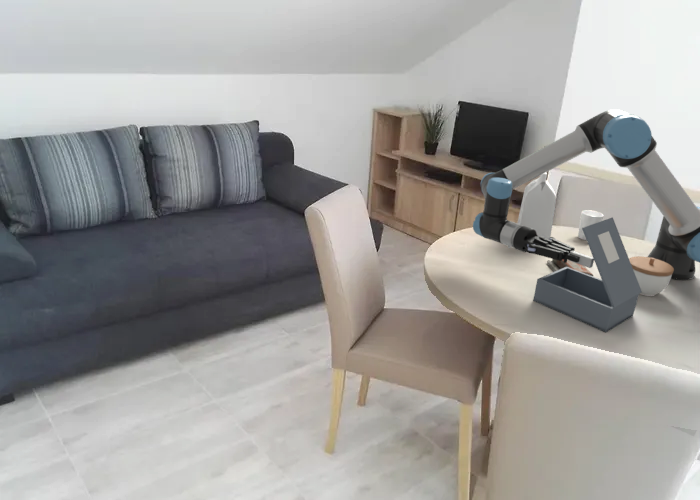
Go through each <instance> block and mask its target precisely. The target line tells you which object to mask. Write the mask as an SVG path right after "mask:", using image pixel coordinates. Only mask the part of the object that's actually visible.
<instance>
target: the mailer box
mask: <svg viewBox="0 0 700 500" xmlns="http://www.w3.org/2000/svg"><path fill="white" fill-rule="evenodd" d="M534 290H535V291H534V294H533V299H532V301H533V302H535V303H537V304H539V305H542V306H543V307H547V308H548V309H551V310H553V311H555V312H558V313H561V315H565V316H567V317H570V318H572V319H574V320H576V321H578V322H581V323H583V324H585V325H587V326H590V327H592V328H595V329H597V330H599V331H601V332H603V333H608V332H609V331H610V330H613V329H614V328H616V327H617V326H619V325H620V324H622V323H623V322H625V321H627V320H629V319H631V318H632V317H633V316H634V314H635V310H636V306H637V304H638V299H639V296H640V294H638V295H636V296H634V297H632V298H631V299H629V300H627V301H625V302H623V303H622V304H620V305H618V306H616V307H614V308H613V307H612V305H611V302H610V300H609V297H608V295H607V292H606V289H605V287H604V284H603V282H602V279H601V278H598V277H596V276H594V275H593V276H590V275H588V274H585V273H582V272H580V271H577V270H574V269H572V268H569V267H564V268H562V269H560V270H557V271H555V272H554V271H553V272H550V273H548V274H546V275H543V276H541V277H539V278H537V280H536V284H535V289H534Z"/></svg>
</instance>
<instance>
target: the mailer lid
mask: <svg viewBox="0 0 700 500" xmlns="http://www.w3.org/2000/svg"><path fill="white" fill-rule="evenodd" d="M582 230H583V232H584V235H585V237H586V240H585V241H586V243H587V244H588V247H589V248H588V249H589V250H590V252H591V255H592V256H591V257H593V258H594V264H595V266H596V269H597V271H598V273H599V276H600V279H601V280H602V282H603V284H604V287H605V289H606V292H607V295H608V297H609V300H610V302H611V305H612V307H613V308H614V307H616V306H618V305H620V304H622V303H623V302H625V301H627V300H629V299H631V298H632V297H634V296H636V295H638V294H639V293H641V292H642V291H641V288H640V286H639V283H638V281H637V278H636V276H635V273H634V270H633V268H632V265H631V263H630V260H629V258H630V257H629V255H628V253H627V250H626V248H625V246H624V242H623V240H622V238H621V235H620V232H619V230H618V227H617V225H616V222H615V220H614V217H613V216H612V217H609V218H606V219H603V220H602V221H601V222H598V223H595V224H592V225H589V226H587V227H584V228H582ZM639 295H640V294H639Z"/></svg>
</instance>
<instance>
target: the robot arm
mask: <svg viewBox="0 0 700 500" xmlns="http://www.w3.org/2000/svg"><path fill="white" fill-rule="evenodd" d="M657 145H658V141H656V139H655V138H654V136H653V134H652V130H651V128H650V126H649V124H648V123H647V122H646V120H644V119H643V118H641V117H640V116H638V115H635V114H631V113H629V112H626V111H624V110H621V109H609V110H606V111H603V112H600V113H599V114H597V115H594V116H593V117H591V118H589V119H587V120H585V121H584V122H582V123H580V124H578V125H577V126H576V128H575V130H573V131H572V132H570V133H567V134H566V135H564V136H562V137H560V138H559V139H556V140H554V141H552V142H551V143H549V144H547V145H546V146H544V147H541V148H540V149H537V151H535V152H533V153H531V154H529V155H527V156H525V157H523V158H521V159H519V160H517V161H515V162H514V163H512V164H510V165H508V166H506V167H504V168H502V169H500V170H499V171H496V172H489V173H486V174H484V175H483V177H482V178H481V181H480V189H481V190H480V191H481V193H482V194H483V197H484V205H483V206H484V207H483V212H479V213H478V214H476V216H474V220H473V223H472V229H473V232H474V234H476V235H479V236H481V237H483V239H488V240H489V241H493V242H496V243H499V244H501V245H504V246H507V248H509V249H510V248H512V249H515V250H517V251H520V252H523V253H528V254H533V255H537V256H541V257H544V258H548V259H555V260H559V261H562V259H563V260H564V263H567V259H568V260H569V261H571V262H574V263H577V264H580V265H582V266H585V267H586V268H587V269H588V268H589V269H591V268H593V266H594V263H595V261H594V258H593V256H591V255H590V256H589V255H587V254H584V253H581V252H578V251H575V247H574V246H571V245H570V244H567V243H565V242H562V241H561V240H558V239H556V238H555V237H553V236H550V239H546V238H545V237H542V236H537V234H536V231H535V230H534V229H532V228H529V227H526V226H523V225H521V224H518V222H514V221H510V220H508V214H509V208H510V202H511V198H512V194H513V190H514V189H516V188H518V187H520V186H522V185H524V184H526V183H528V182H531V181H533V180H535V179H537V178H539V177H540V175H542V174H544V173H546V172H547V173H548V172H549V171H551V170H554V169H555V168H557V167H560V166H561V165H563V164H565V163H567V162H569V161H572V160H573V159H575V158H577V157H579V156H580V155H583V154H585V153H589V154H590V153H591V154H592V153H593V152H596V151H598V150H600V149H605V150H606V151H607V152H608V153H609V154H610V156H611V158H612V159H613V160H614V161H615V163H616V164H617V165H618V166H619V168H625V169H627V170H628V171H629V172H630V173H631V175H632V176H633V177H634V178H635V179H636V181H637V183H638V184H639V185H640V186H641V188H642V189H643V190H644V192H645V193H646V195H648V197H649V199H650V200H651V201H652V202H653V204H654V205H655V207H656V208H657V209H658V210H659V212H660V213H661V214H662V221H661V224H660V228H659V231H658V235H657V239H656V242H655V246H653V249H651V251H650V253H649V254H647V255H648V256H647V257H650V258H655V259H658V260H661V261H664V262H666V263H668V264H670V265H671V266H672V267H673V268H674V271H673V274H672V276H671V279H670V280H679V281H680V280H681V281H686V280H687V281H688V280H691V279H693V278H694V277H695V274H696V263H695V262H698V263H700V206H697V205H696V204H695V203H694V202H693V200H692V198H691V197H690V196H689V195H688V193H687V192H686V191H685V188H683V186H682V185H681V184H680V183H679V181H678V180H677V178H676V177H675V176H674V174H673V172H672V171H671V170H670V168H668V166H667V165H666V163H665V162H664V160H663V159H662V158H661V157H660V155H659V154H658V152H657V151H656V148H657Z"/></svg>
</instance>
